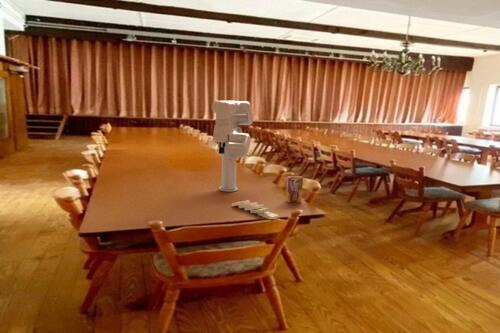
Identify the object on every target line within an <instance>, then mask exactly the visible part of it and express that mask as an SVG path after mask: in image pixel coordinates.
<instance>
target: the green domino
mask: <svg viewBox="0 0 500 333" xmlns="http://www.w3.org/2000/svg"><path fill="white" fill-rule="evenodd" d="M249 211H250V214H258V213H264V212H270V208H269V207H263V208H259V209H253V210H249Z"/></svg>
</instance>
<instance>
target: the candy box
mask: <svg viewBox="0 0 500 333" xmlns="http://www.w3.org/2000/svg"><path fill="white" fill-rule="evenodd" d="M303 180H304V177H303V176H301V175H300V176H299V175H298V176H296V175H287V177H286V189H285V190H286V191H285V192H286V193H285V201H286V202H287V203H302V200H303V198H302V197H303Z"/></svg>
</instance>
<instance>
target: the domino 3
mask: <svg viewBox="0 0 500 333" xmlns="http://www.w3.org/2000/svg"><path fill="white" fill-rule="evenodd" d="M259 208H265V207H264V204H257V205H255V206H251V207H244V208H243V209H244V211H250V210H253V209H259Z"/></svg>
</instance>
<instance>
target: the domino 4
mask: <svg viewBox="0 0 500 333" xmlns="http://www.w3.org/2000/svg"><path fill="white" fill-rule="evenodd" d="M257 216H260V217H263V218H266V219H268V220H271V219H274V220H276V219H277V220H278V219H279V218H280V215H279V214H277V213H274V212H271V211H268V212H264V213H257Z"/></svg>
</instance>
